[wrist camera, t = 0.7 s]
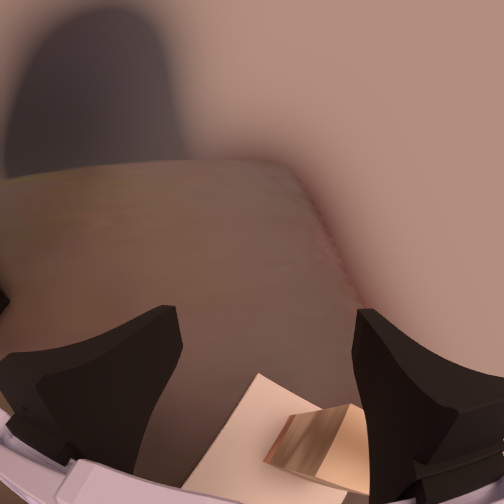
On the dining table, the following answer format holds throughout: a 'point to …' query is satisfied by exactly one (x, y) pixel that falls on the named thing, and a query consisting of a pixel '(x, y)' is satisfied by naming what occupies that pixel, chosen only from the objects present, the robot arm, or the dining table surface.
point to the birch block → (325, 448)
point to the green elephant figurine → (3, 300)
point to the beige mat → (257, 453)
